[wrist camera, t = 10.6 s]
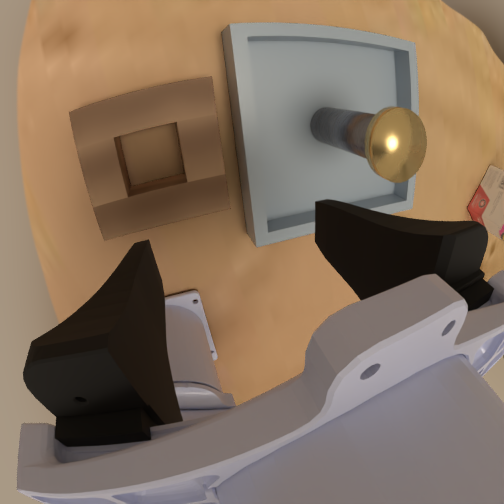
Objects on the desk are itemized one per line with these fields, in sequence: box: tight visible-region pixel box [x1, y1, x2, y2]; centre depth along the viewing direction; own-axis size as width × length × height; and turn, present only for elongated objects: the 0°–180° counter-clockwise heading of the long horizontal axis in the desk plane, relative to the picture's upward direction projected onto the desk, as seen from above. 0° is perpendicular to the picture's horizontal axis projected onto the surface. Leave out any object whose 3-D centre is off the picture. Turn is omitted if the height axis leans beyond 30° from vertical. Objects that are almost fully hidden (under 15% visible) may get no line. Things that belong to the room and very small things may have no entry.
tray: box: [221, 23, 419, 247], centre depth 21 cm, size 16×16×2 cm
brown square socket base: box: [69, 76, 231, 241], centre depth 18 cm, size 9×9×2 cm
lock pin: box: [310, 106, 427, 183], centre depth 17 cm, size 4×4×8 cm
